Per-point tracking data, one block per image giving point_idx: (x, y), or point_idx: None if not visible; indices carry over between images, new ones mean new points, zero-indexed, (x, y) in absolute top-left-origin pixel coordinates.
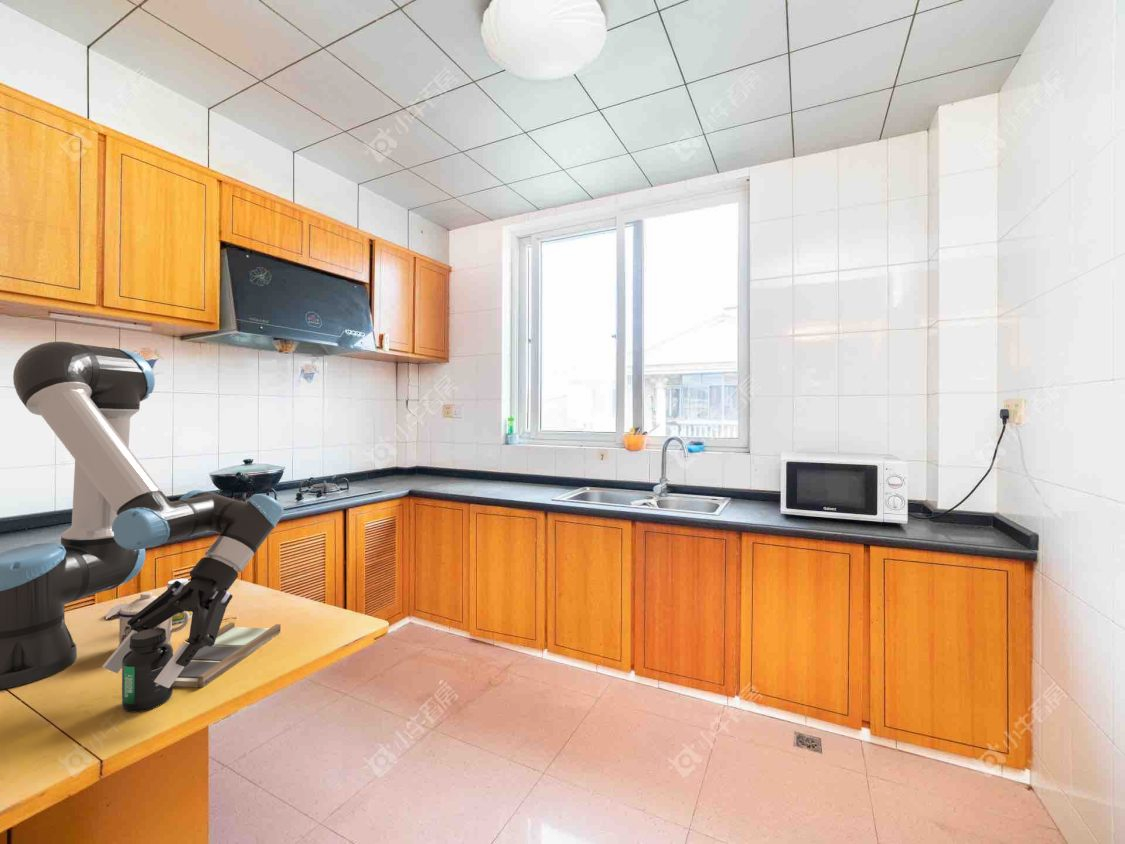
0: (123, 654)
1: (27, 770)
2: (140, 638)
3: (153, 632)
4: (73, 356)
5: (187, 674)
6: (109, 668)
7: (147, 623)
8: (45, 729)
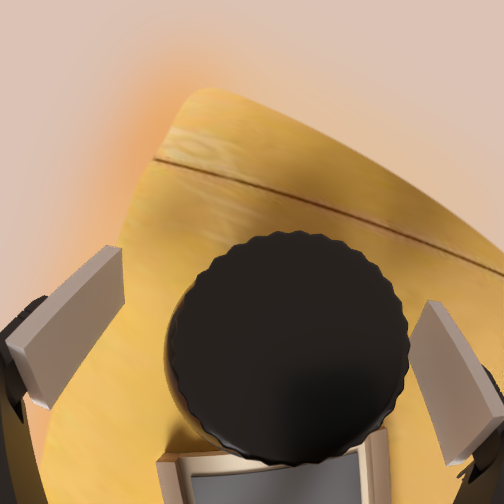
0: (437, 365)
1: (256, 118)
2: (261, 250)
3: (273, 376)
4: None
5: (251, 484)
6: (420, 318)
7: (486, 481)
8: (379, 210)
